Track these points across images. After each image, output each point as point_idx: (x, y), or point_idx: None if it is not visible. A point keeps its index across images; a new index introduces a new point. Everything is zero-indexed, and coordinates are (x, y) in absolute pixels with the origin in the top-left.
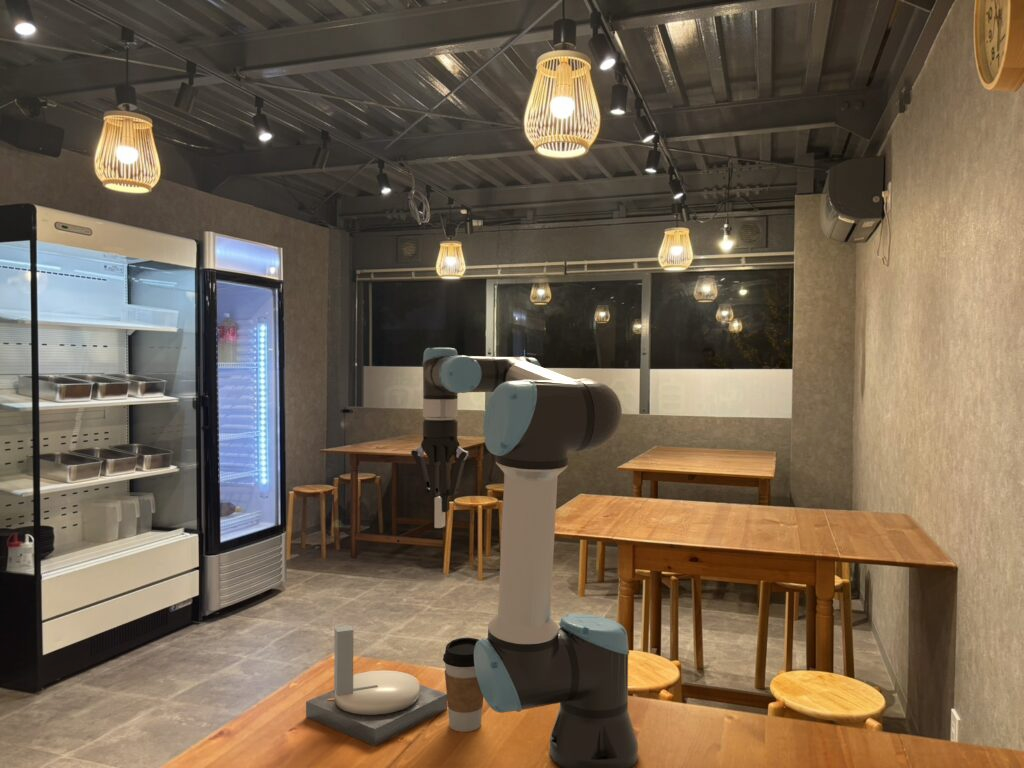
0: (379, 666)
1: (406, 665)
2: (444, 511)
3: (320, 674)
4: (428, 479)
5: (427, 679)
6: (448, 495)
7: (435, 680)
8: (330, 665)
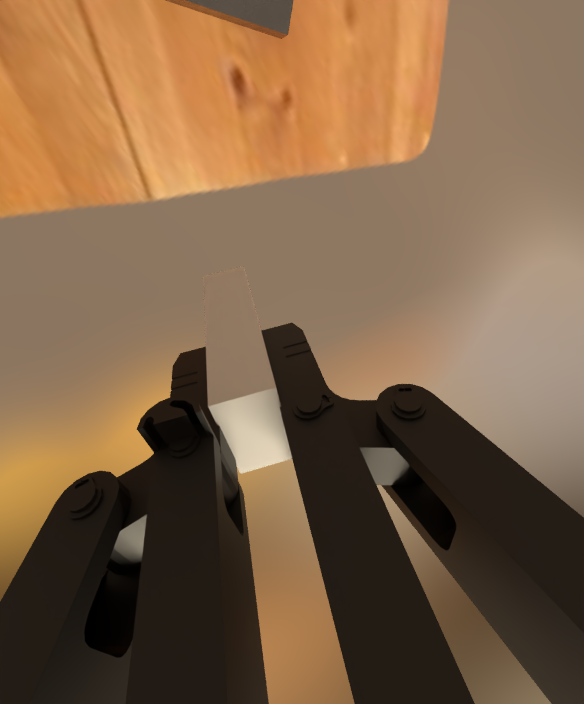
0: (334, 143)
1: (291, 174)
2: (194, 352)
3: (423, 37)
4: (458, 574)
5: (214, 126)
6: (150, 463)
7: (197, 129)
8: (422, 98)
